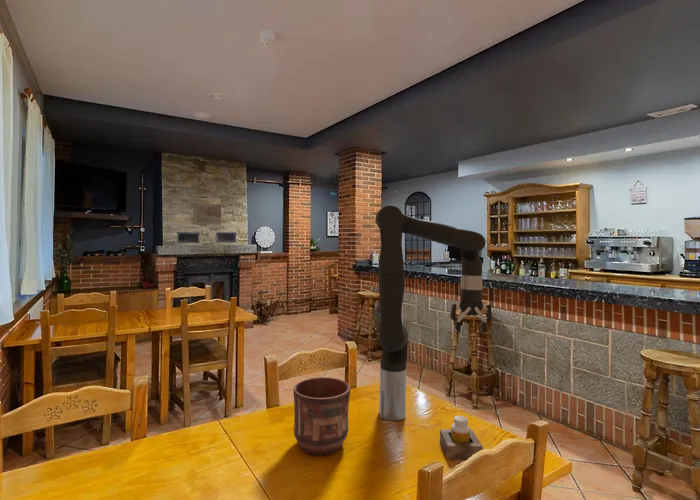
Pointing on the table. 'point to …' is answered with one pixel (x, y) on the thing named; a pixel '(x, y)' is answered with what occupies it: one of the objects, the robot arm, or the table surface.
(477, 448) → the collar block
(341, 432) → the pottery
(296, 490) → the table surface
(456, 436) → the supplement bottle
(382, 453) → the table surface
